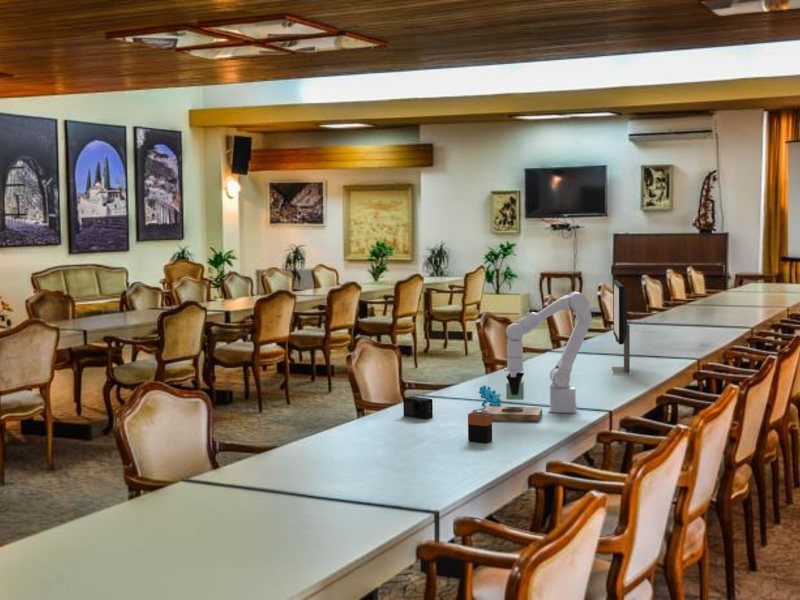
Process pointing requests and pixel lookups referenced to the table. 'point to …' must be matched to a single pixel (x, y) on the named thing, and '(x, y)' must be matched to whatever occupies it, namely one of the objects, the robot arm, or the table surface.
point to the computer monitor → (621, 326)
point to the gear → (490, 396)
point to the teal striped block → (515, 397)
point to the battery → (480, 426)
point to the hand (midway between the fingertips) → (515, 393)
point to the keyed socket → (515, 413)
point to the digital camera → (418, 407)
